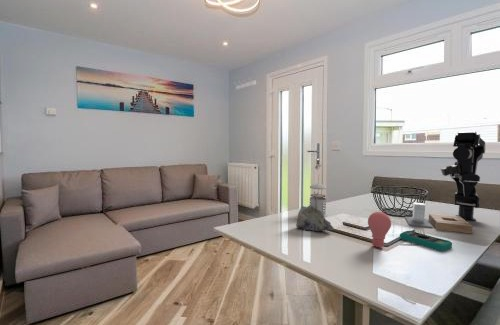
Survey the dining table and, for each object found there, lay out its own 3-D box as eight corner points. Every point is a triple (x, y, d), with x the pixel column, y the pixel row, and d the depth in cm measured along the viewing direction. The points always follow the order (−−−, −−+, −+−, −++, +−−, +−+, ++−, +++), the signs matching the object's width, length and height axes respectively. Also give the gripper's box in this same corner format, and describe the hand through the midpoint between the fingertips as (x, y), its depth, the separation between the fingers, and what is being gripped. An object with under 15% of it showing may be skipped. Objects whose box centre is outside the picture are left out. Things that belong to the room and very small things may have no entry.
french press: (329, 213, 137) (331, 163, 135) (325, 219, 126) (327, 165, 124) (309, 211, 141) (311, 162, 139) (303, 216, 130) (305, 164, 129)
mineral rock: (334, 234, 106) (335, 208, 105) (311, 237, 102) (312, 210, 101) (314, 224, 118) (315, 201, 117) (292, 227, 114) (293, 203, 113)
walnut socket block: (428, 219, 129) (429, 213, 129) (459, 223, 124) (460, 216, 124) (436, 229, 114) (436, 222, 114) (472, 233, 109) (472, 226, 109)
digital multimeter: (408, 236, 106) (409, 229, 106) (452, 249, 93) (453, 240, 93) (397, 239, 102) (398, 231, 102) (442, 253, 89) (442, 244, 89)
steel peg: (412, 219, 126) (413, 202, 126) (422, 220, 125) (423, 203, 124) (413, 221, 123) (414, 204, 122) (424, 223, 121) (425, 205, 120)
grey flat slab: (405, 217, 132) (405, 216, 132) (426, 219, 128) (426, 218, 128) (409, 225, 119) (409, 224, 119) (432, 228, 116) (432, 226, 116)
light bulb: (384, 243, 96) (386, 210, 95) (393, 251, 89) (395, 215, 88) (363, 242, 97) (365, 209, 96) (370, 250, 90) (372, 214, 89)
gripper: (438, 158, 133) (436, 190, 134) (448, 160, 116) (446, 196, 117) (466, 159, 129) (464, 192, 130) (481, 161, 112) (478, 199, 113)
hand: (462, 195), depth 122 cm, fingers open, 9 cm apart
